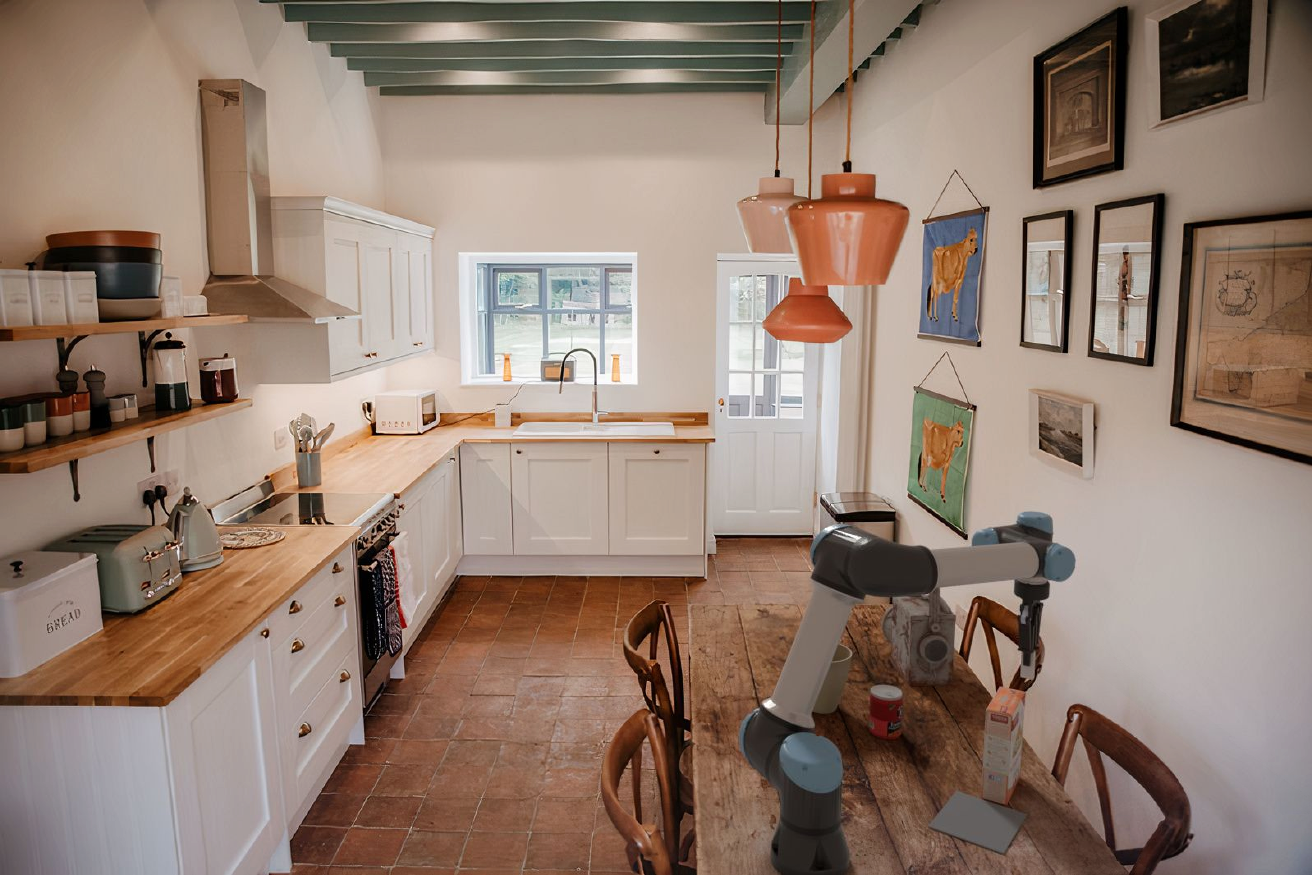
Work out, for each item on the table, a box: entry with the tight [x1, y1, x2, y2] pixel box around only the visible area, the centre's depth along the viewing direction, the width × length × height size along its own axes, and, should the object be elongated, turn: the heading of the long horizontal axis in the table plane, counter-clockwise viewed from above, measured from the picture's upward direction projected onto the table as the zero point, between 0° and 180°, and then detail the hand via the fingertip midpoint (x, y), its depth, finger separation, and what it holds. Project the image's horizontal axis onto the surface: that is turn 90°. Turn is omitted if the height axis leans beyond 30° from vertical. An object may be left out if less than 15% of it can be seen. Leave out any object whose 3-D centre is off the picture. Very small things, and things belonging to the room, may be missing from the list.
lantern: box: [880, 588, 957, 687], centre depth 255 cm, size 16×27×30 cm, turn 2°
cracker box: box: [980, 686, 1027, 807], centre depth 193 cm, size 14×6×21 cm, turn 147°
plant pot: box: [812, 643, 853, 715], centre depth 233 cm, size 15×15×16 cm
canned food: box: [869, 684, 904, 740], centre depth 219 cm, size 8×8×11 cm
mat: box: [928, 790, 1028, 855], centre depth 182 cm, size 16×15×1 cm
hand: (1027, 677), depth 204 cm, fingers closed
